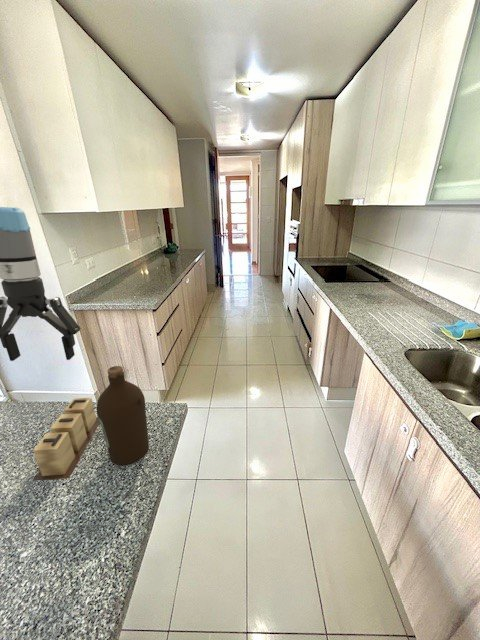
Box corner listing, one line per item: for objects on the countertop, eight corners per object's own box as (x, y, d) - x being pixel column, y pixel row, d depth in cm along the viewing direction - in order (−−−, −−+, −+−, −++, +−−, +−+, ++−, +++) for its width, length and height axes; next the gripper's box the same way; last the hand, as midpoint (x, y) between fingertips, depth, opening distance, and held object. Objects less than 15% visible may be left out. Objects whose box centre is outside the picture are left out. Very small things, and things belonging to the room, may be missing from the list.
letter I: (58, 452, 66) (49, 427, 63) (68, 437, 71) (60, 413, 68) (78, 451, 67) (71, 426, 64) (87, 436, 72) (80, 412, 69)
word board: (33, 482, 60) (32, 480, 59) (76, 420, 78) (75, 418, 78) (69, 479, 60) (69, 477, 60) (103, 418, 79) (103, 417, 79)
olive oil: (151, 432, 74) (140, 355, 65) (151, 463, 65) (138, 378, 56) (110, 440, 71) (93, 361, 62) (104, 474, 62) (83, 386, 53)
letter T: (42, 476, 60) (32, 449, 57) (54, 457, 65) (45, 431, 62) (64, 474, 61) (56, 447, 58) (75, 456, 66) (67, 430, 62)
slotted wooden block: (70, 433, 73) (63, 409, 70) (79, 420, 77) (73, 397, 74) (89, 432, 73) (83, 408, 70) (96, 419, 78) (91, 396, 75)
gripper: (-53, 281, 56) (-21, 366, 64) (69, 282, 58) (86, 364, 66) (-24, 274, 63) (2, 351, 71) (85, 275, 65) (98, 350, 73)
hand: (43, 357), depth 68 cm, fingers open, 13 cm apart
